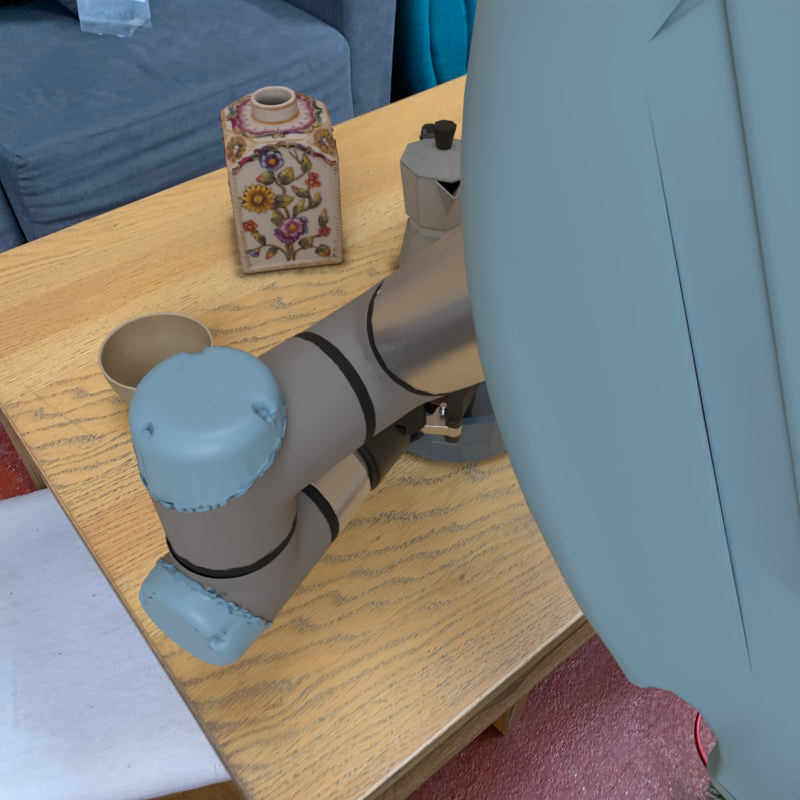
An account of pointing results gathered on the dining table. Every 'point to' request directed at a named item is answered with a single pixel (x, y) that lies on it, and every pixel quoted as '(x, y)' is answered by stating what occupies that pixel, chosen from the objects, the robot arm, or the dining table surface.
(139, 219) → the dining table surface
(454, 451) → the bowl
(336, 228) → the decorative jar
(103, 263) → the dining table surface
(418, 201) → the coffee maker
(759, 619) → the robot arm
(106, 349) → the small beige bowl
